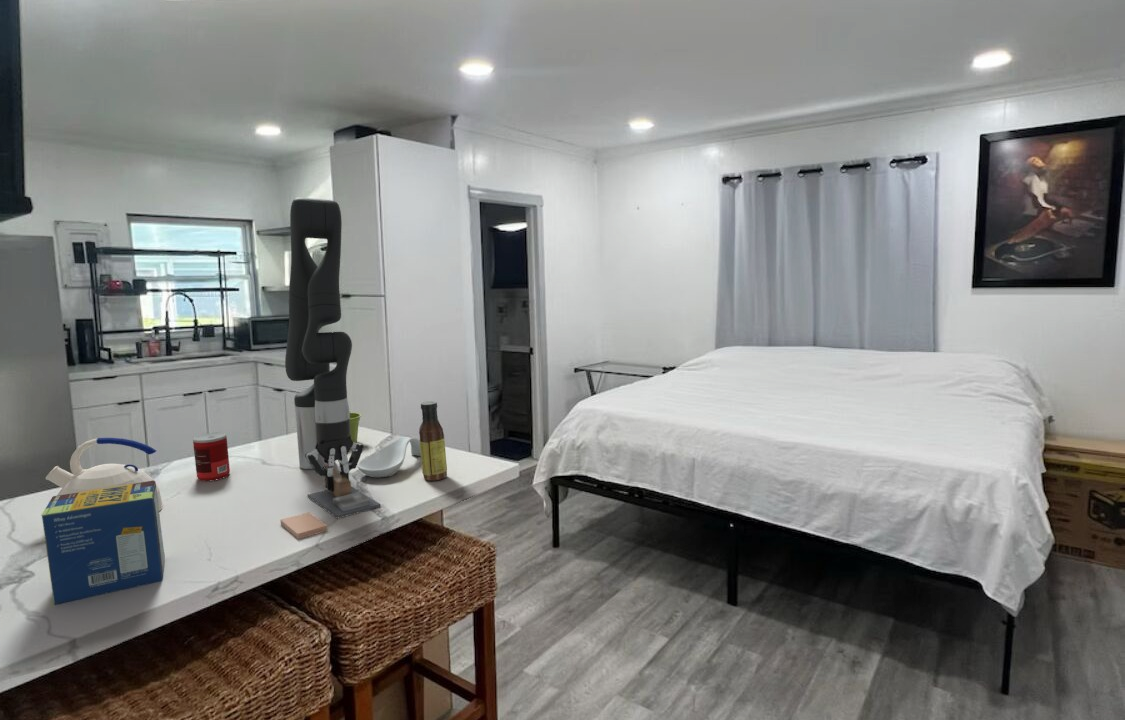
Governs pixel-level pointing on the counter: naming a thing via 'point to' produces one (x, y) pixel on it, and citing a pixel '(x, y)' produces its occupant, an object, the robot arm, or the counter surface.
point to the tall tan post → (346, 493)
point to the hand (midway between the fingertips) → (337, 488)
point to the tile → (303, 525)
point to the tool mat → (326, 502)
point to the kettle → (100, 471)
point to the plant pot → (354, 425)
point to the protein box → (103, 541)
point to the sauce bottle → (432, 444)
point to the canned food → (211, 456)
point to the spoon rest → (388, 458)
